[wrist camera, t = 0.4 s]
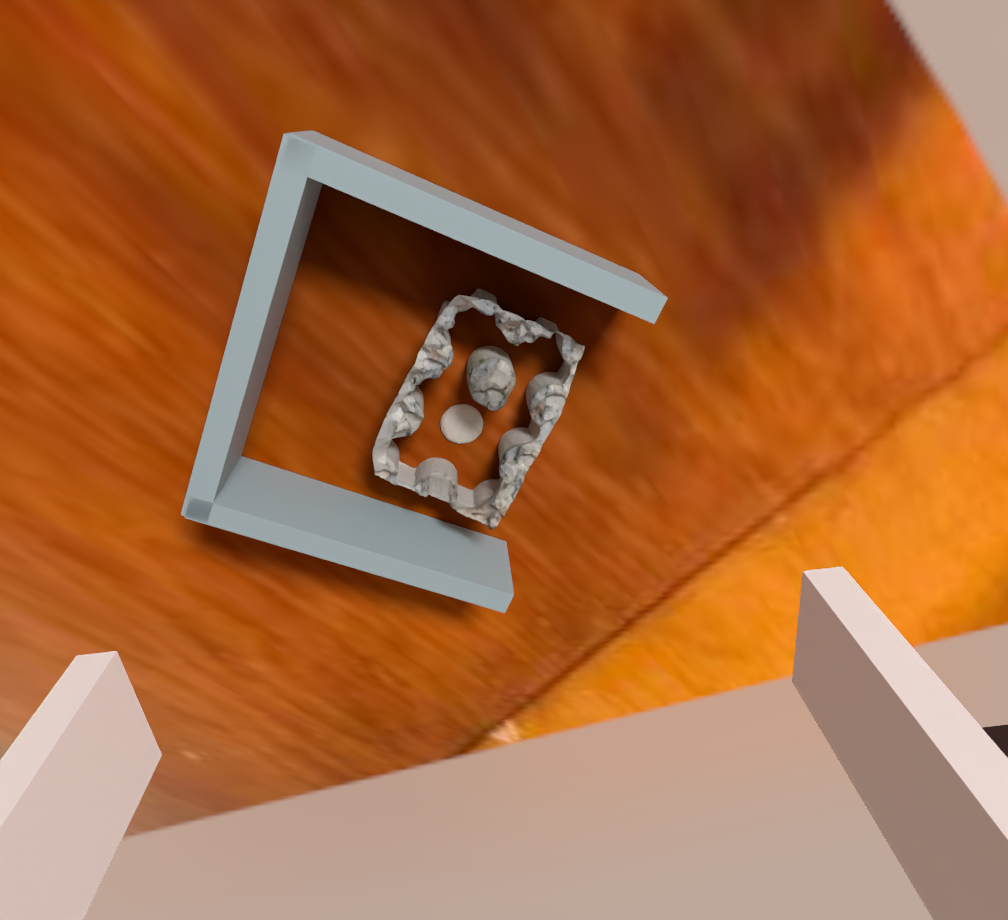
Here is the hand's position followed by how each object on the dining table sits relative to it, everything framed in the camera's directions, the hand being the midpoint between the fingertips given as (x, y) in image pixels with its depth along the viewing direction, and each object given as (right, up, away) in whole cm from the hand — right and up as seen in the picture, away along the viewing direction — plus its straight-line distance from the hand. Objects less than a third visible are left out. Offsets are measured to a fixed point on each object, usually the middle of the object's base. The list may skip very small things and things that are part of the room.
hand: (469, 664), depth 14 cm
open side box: (-4, +8, +22) cm, 23 cm away
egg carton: (-1, +7, +23) cm, 24 cm away
